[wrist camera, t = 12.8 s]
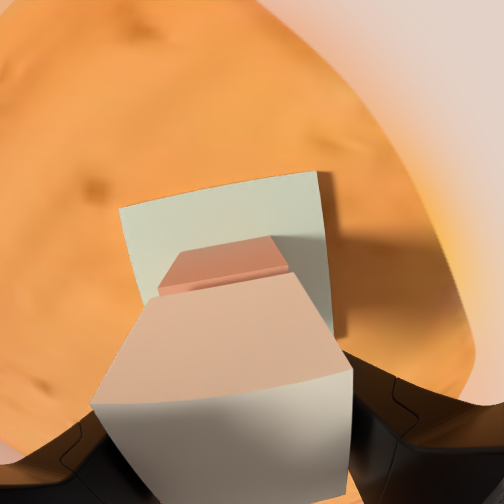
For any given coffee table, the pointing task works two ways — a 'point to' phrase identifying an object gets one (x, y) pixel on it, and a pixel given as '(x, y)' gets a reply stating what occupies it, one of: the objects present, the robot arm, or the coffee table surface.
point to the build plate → (234, 230)
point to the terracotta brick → (223, 265)
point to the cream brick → (232, 397)
